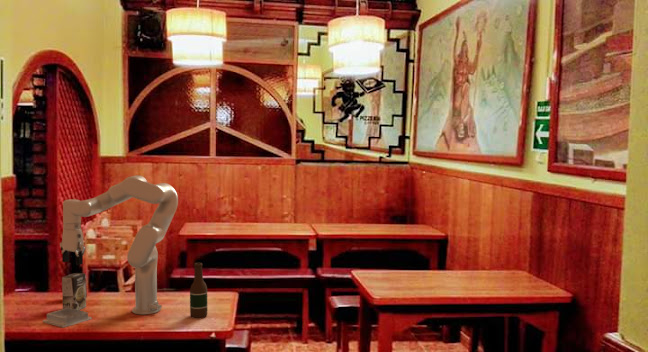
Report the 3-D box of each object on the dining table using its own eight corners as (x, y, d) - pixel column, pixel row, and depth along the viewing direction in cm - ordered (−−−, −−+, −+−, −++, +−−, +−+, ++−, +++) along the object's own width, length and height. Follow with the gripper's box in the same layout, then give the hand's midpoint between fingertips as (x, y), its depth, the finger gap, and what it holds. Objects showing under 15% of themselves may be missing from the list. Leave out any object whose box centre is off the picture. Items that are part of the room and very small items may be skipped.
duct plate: (91, 318, 255) (91, 311, 255) (63, 327, 244) (62, 320, 243) (71, 313, 263) (71, 306, 263) (42, 322, 251) (42, 314, 251)
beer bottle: (211, 314, 262) (210, 262, 261) (202, 319, 255) (201, 265, 253) (196, 312, 265) (195, 260, 263) (186, 317, 258) (185, 264, 256)
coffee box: (74, 312, 265) (73, 277, 263) (62, 311, 266) (61, 277, 265) (86, 306, 273) (86, 273, 272) (74, 306, 275) (73, 272, 274)
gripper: (91, 227, 266) (91, 264, 267) (67, 223, 275) (68, 259, 276) (76, 229, 259) (77, 267, 260) (53, 225, 268) (53, 262, 269)
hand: (72, 263), depth 268 cm, fingers open, 9 cm apart
